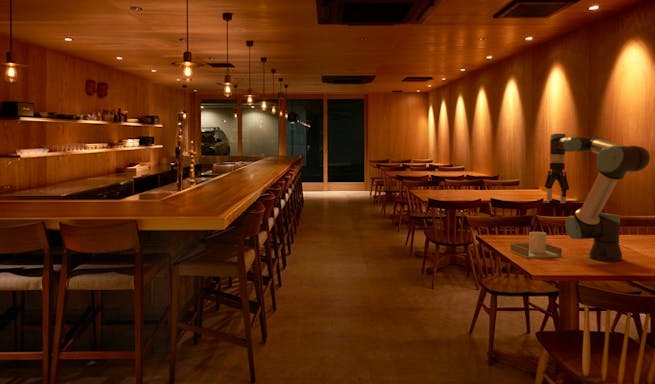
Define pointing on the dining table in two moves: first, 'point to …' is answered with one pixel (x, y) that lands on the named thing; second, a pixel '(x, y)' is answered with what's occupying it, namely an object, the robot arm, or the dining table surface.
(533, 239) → the mug
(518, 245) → the shallow square tray
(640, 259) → the dining table surface
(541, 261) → the dining table surface
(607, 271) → the dining table surface
